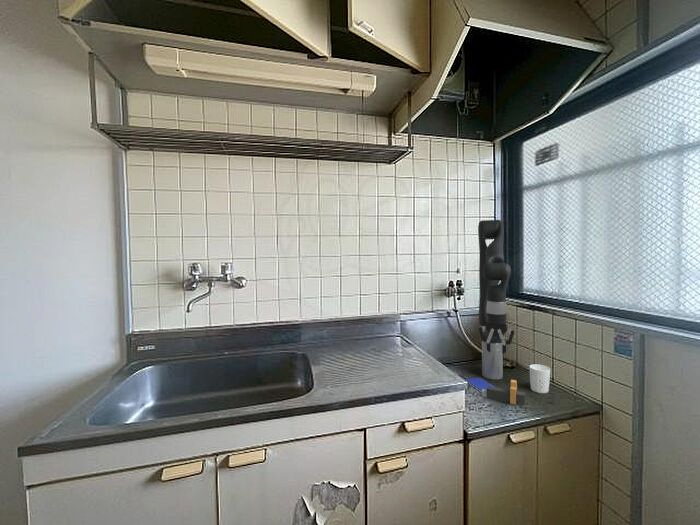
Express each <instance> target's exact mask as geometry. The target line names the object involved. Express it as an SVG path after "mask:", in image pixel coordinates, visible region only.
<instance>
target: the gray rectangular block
mask: <svg viewBox="0 0 700 525" xmlns="http://www.w3.org/2000/svg"><path fill="white" fill-rule="evenodd" d="M481 398H486V399H489V400H494V399H495V401H499V400H500V401H501V402H504V401H505V403H509V402H510V389H508V388H506V389H505V388H500V387H496V386H494V387H491V386H487V390H486V389H482V393H481ZM519 404H521V405H520V406H524V405H525V404H526V392H524V391H518V390H517V391H516V405H519Z"/></svg>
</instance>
